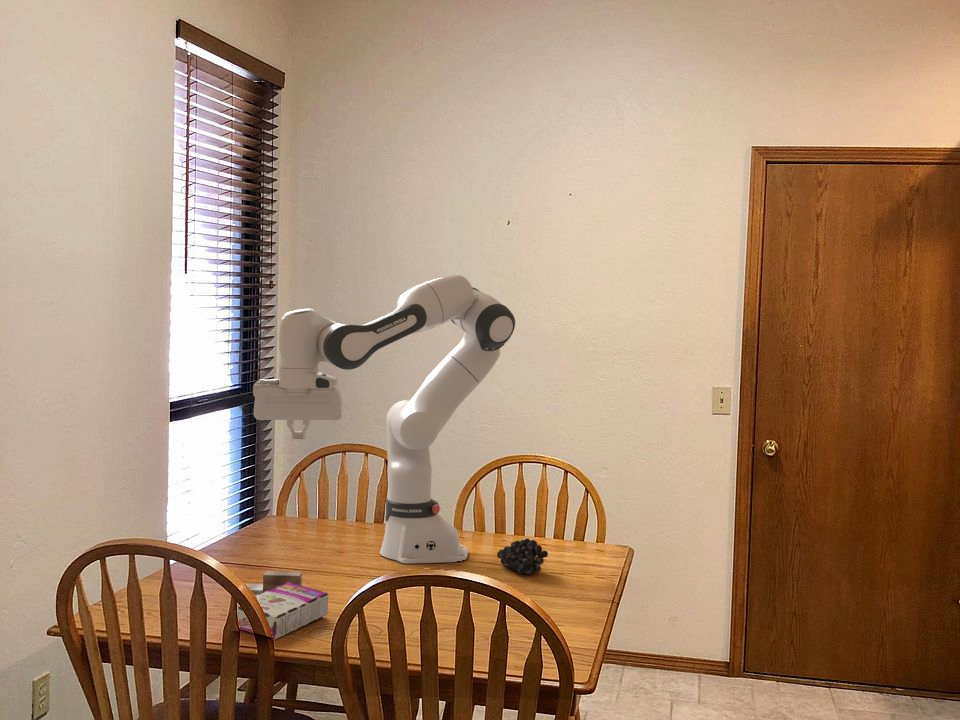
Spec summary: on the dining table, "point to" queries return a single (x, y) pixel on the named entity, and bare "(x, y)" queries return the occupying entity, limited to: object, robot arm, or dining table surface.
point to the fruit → (523, 556)
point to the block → (275, 580)
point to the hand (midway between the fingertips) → (298, 439)
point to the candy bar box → (288, 608)
